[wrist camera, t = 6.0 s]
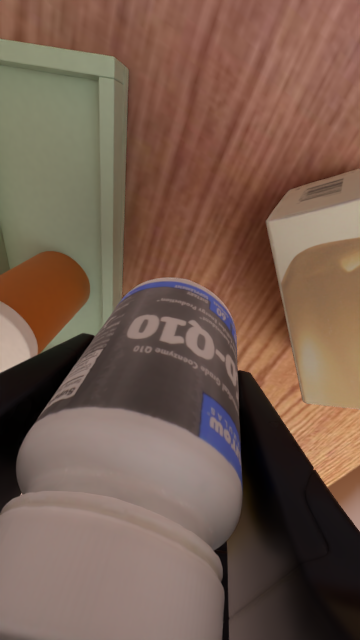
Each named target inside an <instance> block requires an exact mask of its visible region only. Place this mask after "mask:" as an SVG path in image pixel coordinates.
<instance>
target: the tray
mask: <svg viewBox="0 0 360 640" xmlns="http://www.w3.org/2000/svg"><path fill="white" fill-rule="evenodd" d="M128 74H129V70H128V68H127V67H126V66H124V65H123V64H122V63H121V62H120V61H119V60H117V59H116V58H115V57H114V56H108V55H102V54H95V53H89V52H82V51H76V50H69V49H63V48H57V47H50V46H44V45H37V44H31V43H25V42H18V41H12V40H5V39H0V275H1V274H3V273H5V272H7V271H8V270H10V269H12V268H14V267H16V266H17V265H19V264H21V263H23V262H25V261H26V260H28V259H30V258H32V257H34V256H35V255H37V254H39V253H41V252H45V251H55V252H60V253H62V254H65V255H67V256H69V257H70V258H72V259H73V260H75V261H76V262H77V263H78V264H79V265H80V266H81V267H82V269H83V270H84V271H85V273H86V275H87V277H88V280H89V283H90V296H89V299H88V301H87V302H86V303H85V305H84V306H83V307H82V308H81V309H80V310H79V311H78V312H77V313H76V314H75V316H74V317H73V318H72V319H71V320H70V321H69V322H68V323H67V324H66V325H65V327H64V328H63V329H62V330H61V331H60V332H59V333H58V334H57V335H56V336H55V337H54V339H53V340H52V341H51V342H50V343H49V344H48V345H47V346H46V347H45V348H44V349H43V351H42V352H44V351H46V350H48V349H50V348H52V347H54V346H56V345H58V344H60V343H62V342H65V341H67V340H69V339H71V338H73V337H75V336H77V335H79V334H81V333H87V334H91V335H94V336H96V334H97V333H98V332H99V331H100V329H101V328H102V327H103V325H104V324H105V322H106V321H107V319H108V318H109V317H110V315H111V314H112V312H113V311H114V310H115V308H116V307H117V305H118V304H119V302H120V301H121V300H122V281H123V246H124V212H125V177H126V143H127V108H128ZM42 352H41V353H42Z"/></svg>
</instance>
